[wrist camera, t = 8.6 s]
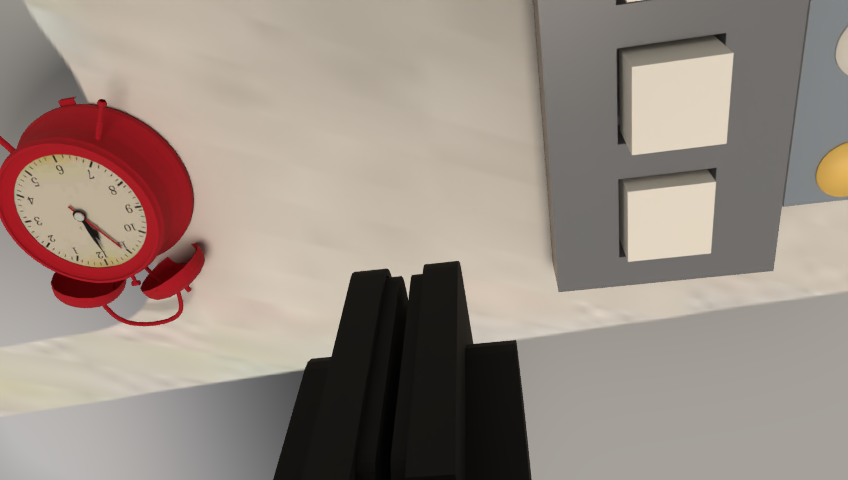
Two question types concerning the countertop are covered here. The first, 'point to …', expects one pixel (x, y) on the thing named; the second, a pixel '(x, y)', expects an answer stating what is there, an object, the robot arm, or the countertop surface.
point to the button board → (611, 158)
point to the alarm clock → (98, 205)
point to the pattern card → (820, 110)
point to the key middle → (675, 94)
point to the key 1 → (666, 215)
